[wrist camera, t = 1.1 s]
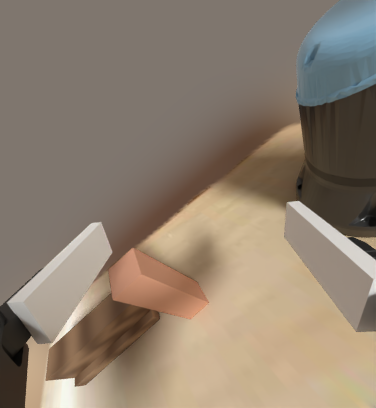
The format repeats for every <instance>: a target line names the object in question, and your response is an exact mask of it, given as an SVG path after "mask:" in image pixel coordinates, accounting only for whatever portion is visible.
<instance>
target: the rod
mask: <svg viewBox="0 0 376 408" xmlns="http://www.w3.org/2000/svg"><path fill="white" fill-rule="evenodd" d="M108 272H109V279H110V286H111V292H112V299H113V300H114V301H119V302H123V303H127V304H131V305H135V306H139V307H143V308H147V309H151V310H155V311H159V312H163V313H167V314H171V315H176V316H180V317H184V318H188V319H191V318H192V317H194V316H195V315H196V314H197V313H198V312H199V311H200V310H201V309H203V308H204V307H205V306H206V305H207V304H208V303H209V302H208V300H207V298H206V297H205V295H204V293H203V291H202V290H201V288H200V286H199V285H198V283H197V282H196V281H194V280H192V279H190V278H188V277H187V276H185V275H183V274H181V273H179V272H177V271H176V270H174V269H172V268H170V267H168V266H166V265H165V264H163V263H161V262H159V261H157V260H155V259H153V258H152V257H150V256H148V255H146V254H144V253H142V252H141V251H139V250H137V249H135V248H132V249H131V250H130V251H128V252H127V253H126V254H125V255H124V256H123V257H122V258H121V259H120V260H118V261H117V262H116V263H115V264H114V265H113V266H112V267H111V268H110V269H109V270H108Z"/></svg>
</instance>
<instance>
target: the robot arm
mask: <svg viewBox="0 0 376 408" xmlns="http://www.w3.org/2000/svg"><path fill="white" fill-rule="evenodd" d="M296 68H297V85H298V88H297V90H296V99H297V102H298V104H299V111H300V120H301V127H302V135H303V143H304V151H305V161H304V163H303V166H302V168H301V171H300V173H299V176H298V179H297V183H296V193H297V198H298V201H293V202H287V205H286V218H285V232H284V237H285V239H286V240H287V241H288V243H289V244H290V245H291V247H292V248H293V249H294V251H295V252H296V253H297V255H298V256H299V257H300V258H301V260H302V261H303V262H304V264H305V265H306V266H307V268H308V269H309V270H310V272H311V273H312V274H313V276H314V277H315V278H316V280H317V281H318V282H319V284H320V285H321V286H322V287H323V289H324V290H325V291H326V293H327V294H328V295H329V297H330V298H331V299H332V301H333V302H334V303H335V305H336V306H337V307H338V309H339V310H340V311H341V313H342V314H343V315H344V317H345V318H346V319H347V320H348V322H349V323H350V324H351V326H352V327H353V328H354V330H355V331H356V332H366V331H376V250H375V249H374V248H372V247H371V246H370V245H368V244H367V243H365V242H363V241H361V240H358V239H356V238H354V237H348V238H346V237H345V236H344V235H349V236H355V237H376V0H340V1H338V2H337V3H336V4H335V5H334V6H333V7H331V8H330V9H329V10H328V11H327V12H326V13H325V14H324V15H323V16H322V17H321V18H320V19H319V20H318V21H317V23H316V24H315V25H314V26H313V27H312V29H311V30H310V31H309V33H308V34H307V36H306V37H305V39H304V40H303V42H302V44H301V46H300V49H299V52H298V56H297V62H296ZM343 234H344V235H343ZM111 254H112V250H111V247H110V244H109V242H108V239H107V236H106V234H105V231H104V228H103V226H102V223H101V222H98V223H91V224H90V225H89V226H88V227H87V228H86V229H85V230H84V231H83V232H82V233H81V234H80V235H78V236H77V237H76V238H75V239H74V240H73V241H72V242H71V243H70V244H69V245H68V246H67V247H66V248H65V249H64V250H62V251H61V252H60V253H59V254H58V255H57V256H56V257H55V258H54V259H53V260H52V261H51V262H50V263H49V264H48V265H46V266H45V267H44V268H42V269H41V270H39V271H38V272H37V273H36V274H35V275H34V276H33V277H32V279H30V280H29V281H27V283H25V285H23V286H22V287H21V288H20V289H19V290H18V291H17V292H16V293H14V294H13V295H12V296H11V297H10V298H9V299H8V300H7V301H6V302H5V303H4V304H3V305H2V306H0V408H25V396H26V381H27V367H28V352H29V348H28V345H27V344H26V342H27V341H28V339H29V338H30V337H31V336H32V337H33V338H34V340H35V341H36V342H37V343H38V344H45V343H53V341H54V340H55V338H56V337H57V335H58V334H59V332H60V331H61V329H62V328H63V326H64V325H65V323H66V322H67V320H68V319H69V317H70V316H71V314H72V313H73V311H74V310H75V308H76V307H77V305H78V304H79V302H80V301H81V299H82V298H83V296H84V295H85V293H86V292H87V290H88V289H89V287H90V286H91V284H92V283H93V281H94V280H95V278H96V277H97V275H98V273H99V272H100V270H101V269H102V267H103V266H104V264H105V263H106V261H107V260H108V258H109V257H110V255H111Z"/></svg>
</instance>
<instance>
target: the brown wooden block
mask: <svg viewBox="0 0 376 408" xmlns="http://www.w3.org/2000/svg"><path fill="white" fill-rule="evenodd" d="M159 319H160V316H159V313H158V311H155V310H151V309H147V308H143V307H139V306H135V305H131V304H127V303H123V302H119V301H114V300H113V299H112V293H111V294H110V295H109V296H108V297H107V298H106V299H105V300H103V301H102V302H101V303H100V304H99V305H98V306H97V307H96V308H94V309H93V310H92V311H91V312H90V313H89V314H88V315H87V316H86V317H84V318H83V319H82V320H81V321H80V322H79V323H78V324H77V325H76V326H74V327H73V328H72V329H71V330H70V331H69V332H68V333H67V334H66V335H64V336H63V337H62V338H61V339H60V340H59V341H58V342H57V343H56V344H54V345H53V346H52V347H51V348H50V349H49V355H48V364H47V373H46V381H48V380H58V379H68V378H75V387H76V386H84V385H86V384H87V383H88V382H89V381H91V380H92V379H93V378H94V377H95V376H96V375H97V374H98V373H100V372H101V371H102V370H103V369H104V368H105V367H106V366H107V365H109V364H110V363H111V362H112V361H113V360H114V359H115V358H116V357H118V356H119V355H120V354H121V353H122V352H123V351H124V350H125V349H127V348H128V347H129V346H130V345H131V344H132V343H133V342H134V341H136V340H137V339H138V338H139V337H140V336H141V335H142V334H143V333H145V332H146V331H147V330H148V329H149V328H150V327H151V326H152V325H154V324H155V323H156V322H157V321H158V320H159Z"/></svg>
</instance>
